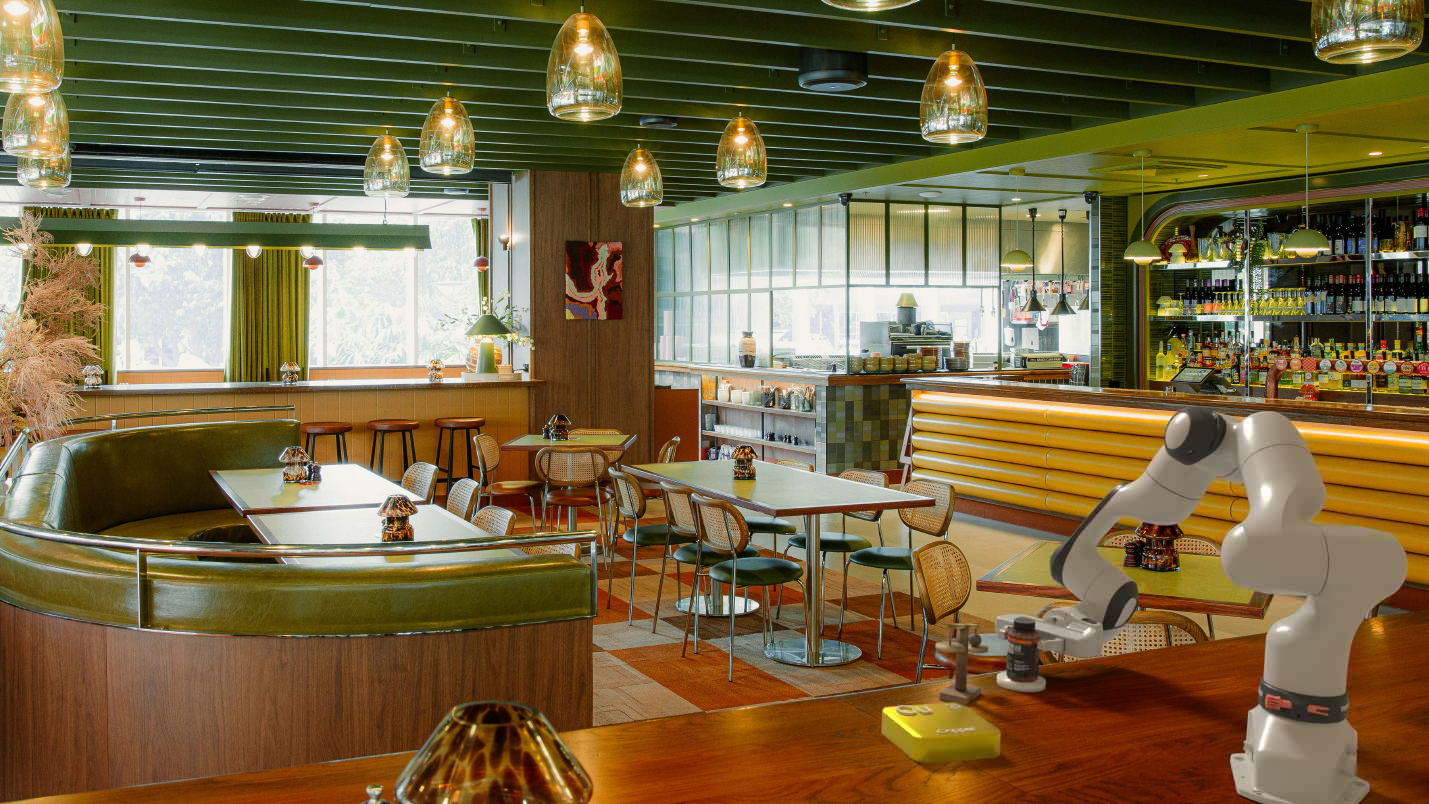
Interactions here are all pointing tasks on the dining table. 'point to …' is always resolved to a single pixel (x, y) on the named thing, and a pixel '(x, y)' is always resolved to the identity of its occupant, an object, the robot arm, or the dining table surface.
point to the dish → (1021, 684)
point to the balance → (962, 662)
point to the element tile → (940, 732)
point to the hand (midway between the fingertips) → (1020, 640)
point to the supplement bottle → (1023, 651)
